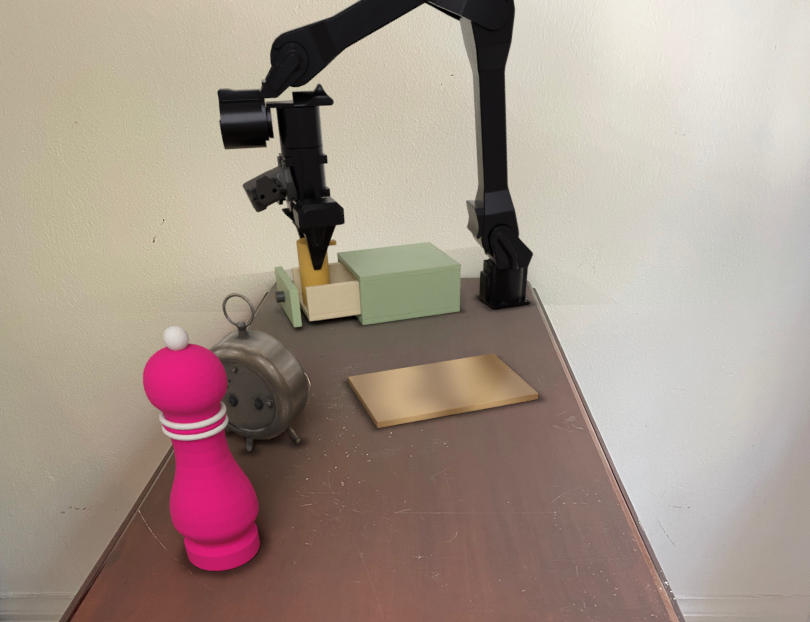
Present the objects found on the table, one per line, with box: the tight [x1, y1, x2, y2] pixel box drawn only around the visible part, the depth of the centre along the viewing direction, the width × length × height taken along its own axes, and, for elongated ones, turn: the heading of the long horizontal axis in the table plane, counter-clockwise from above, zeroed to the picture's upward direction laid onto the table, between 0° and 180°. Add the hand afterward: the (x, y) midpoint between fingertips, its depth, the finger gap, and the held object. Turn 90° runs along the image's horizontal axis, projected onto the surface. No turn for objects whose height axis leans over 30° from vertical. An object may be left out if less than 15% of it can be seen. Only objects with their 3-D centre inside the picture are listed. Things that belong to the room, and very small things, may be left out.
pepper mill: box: [142, 325, 261, 572], centre depth 55 cm, size 7×7×20 cm
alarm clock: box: [209, 292, 309, 452], centre depth 71 cm, size 11×5×16 cm, turn 71°
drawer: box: [274, 261, 361, 328], centre depth 106 cm, size 16×12×5 cm
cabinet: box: [336, 241, 462, 326], centre depth 109 cm, size 16×14×7 cm
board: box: [347, 353, 539, 429], centre depth 85 cm, size 20×13×1 cm, turn 108°
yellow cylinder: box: [295, 238, 337, 306], centre depth 104 cm, size 6×4×9 cm
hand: (313, 265), depth 103 cm, fingers closed on yellow cylinder, 4 cm apart
